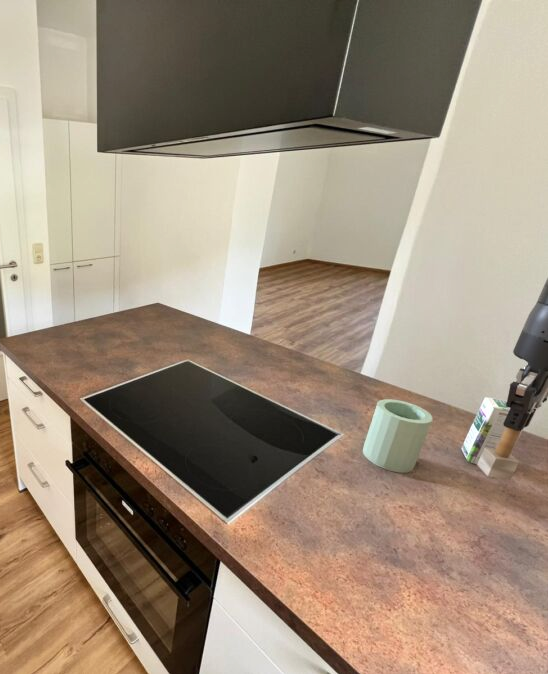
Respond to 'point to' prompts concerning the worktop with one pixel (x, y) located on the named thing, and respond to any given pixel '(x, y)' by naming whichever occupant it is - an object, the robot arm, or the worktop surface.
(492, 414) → the syrup box
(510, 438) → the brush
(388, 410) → the mint green cup
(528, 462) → the worktop surface
